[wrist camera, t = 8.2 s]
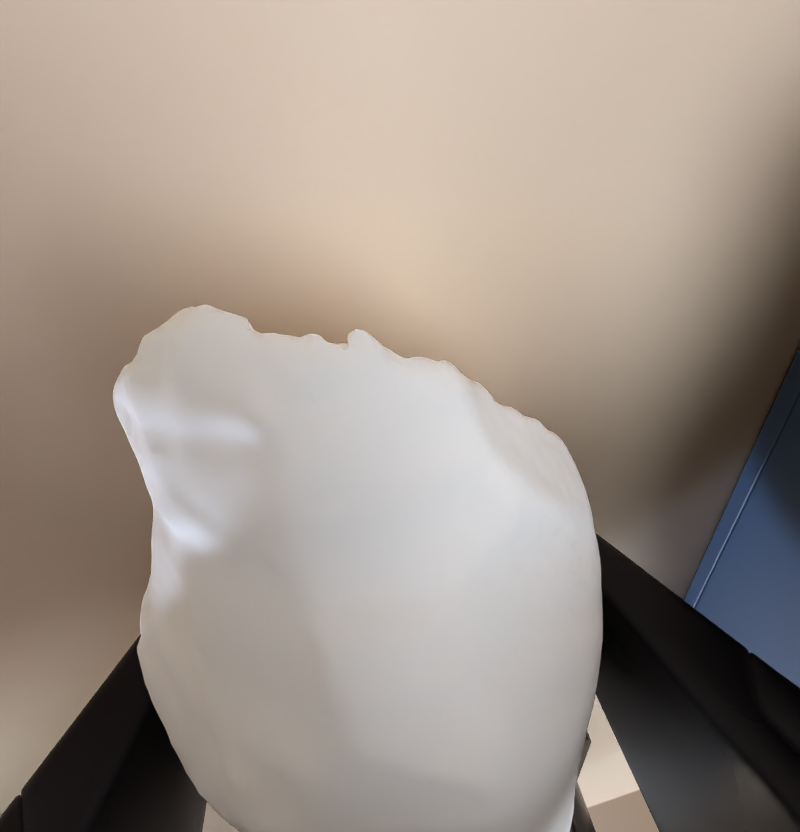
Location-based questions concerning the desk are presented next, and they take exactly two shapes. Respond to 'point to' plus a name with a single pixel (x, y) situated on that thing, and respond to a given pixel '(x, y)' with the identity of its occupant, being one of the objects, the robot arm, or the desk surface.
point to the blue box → (761, 544)
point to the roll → (359, 585)
